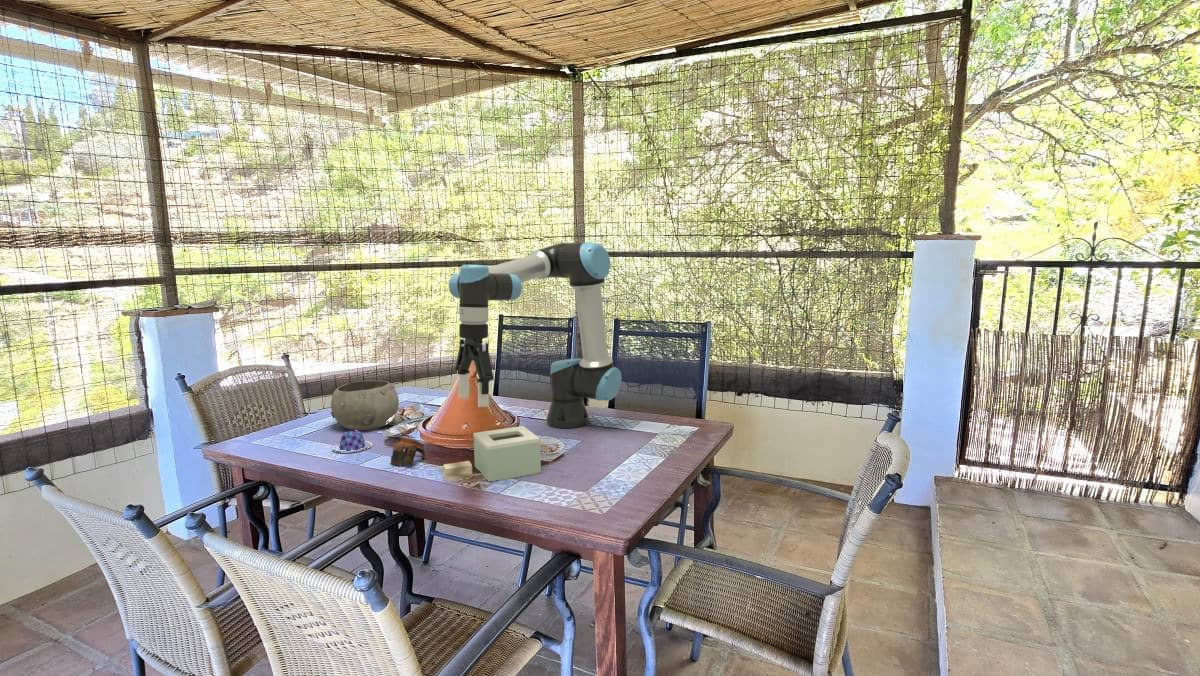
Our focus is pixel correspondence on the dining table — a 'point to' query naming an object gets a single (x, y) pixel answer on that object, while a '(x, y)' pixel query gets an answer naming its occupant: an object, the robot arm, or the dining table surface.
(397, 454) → the pottery mug
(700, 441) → the dining table surface
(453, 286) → the robot arm
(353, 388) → the bowl
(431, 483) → the dining table surface
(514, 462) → the slot box
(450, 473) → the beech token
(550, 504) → the dining table surface
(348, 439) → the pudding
